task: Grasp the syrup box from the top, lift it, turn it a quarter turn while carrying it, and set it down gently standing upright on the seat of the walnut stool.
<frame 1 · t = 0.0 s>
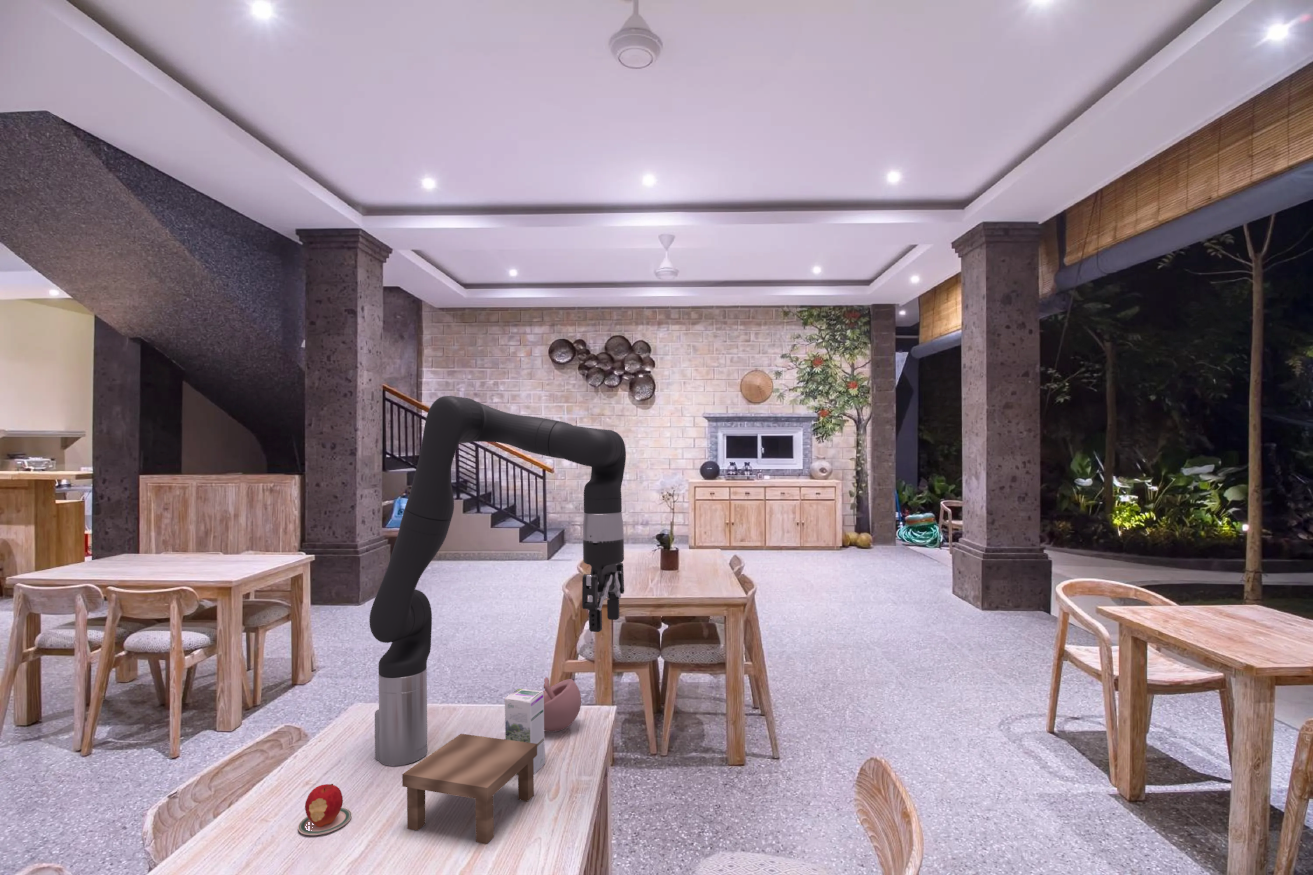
hand: (604, 625, 119), 29 cm above the table, tool pointing down, fingers open, 8 cm apart
mortar and pestle: (554, 730, 143), on the table
walnut stool: (473, 811, 110), on the table
apple: (325, 824, 108), on the table
syrup box: (525, 769, 125), on the table
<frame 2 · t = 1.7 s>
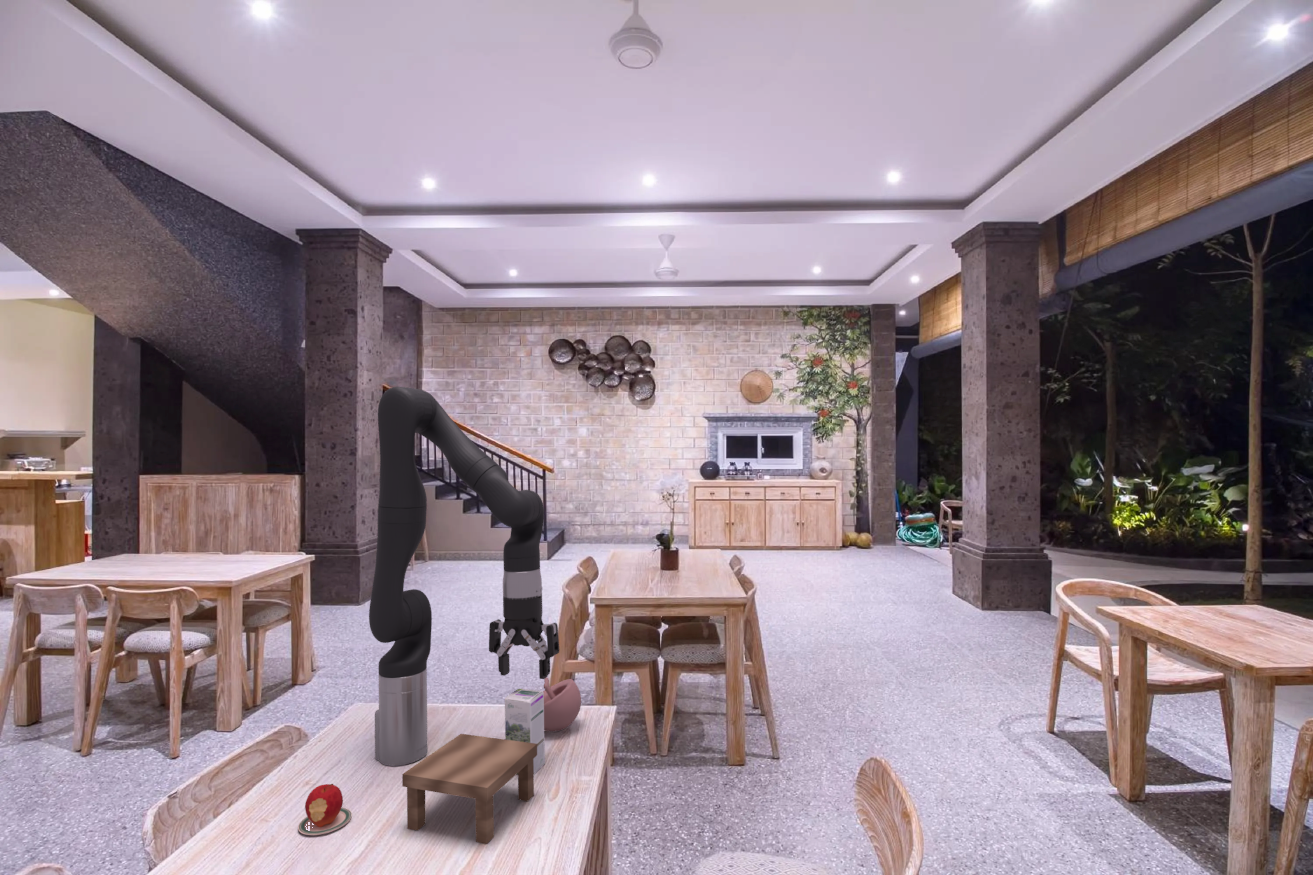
hand: (524, 675, 126), 18 cm above the table, tool pointing down, fingers open, 8 cm apart
nothing on the table moved.
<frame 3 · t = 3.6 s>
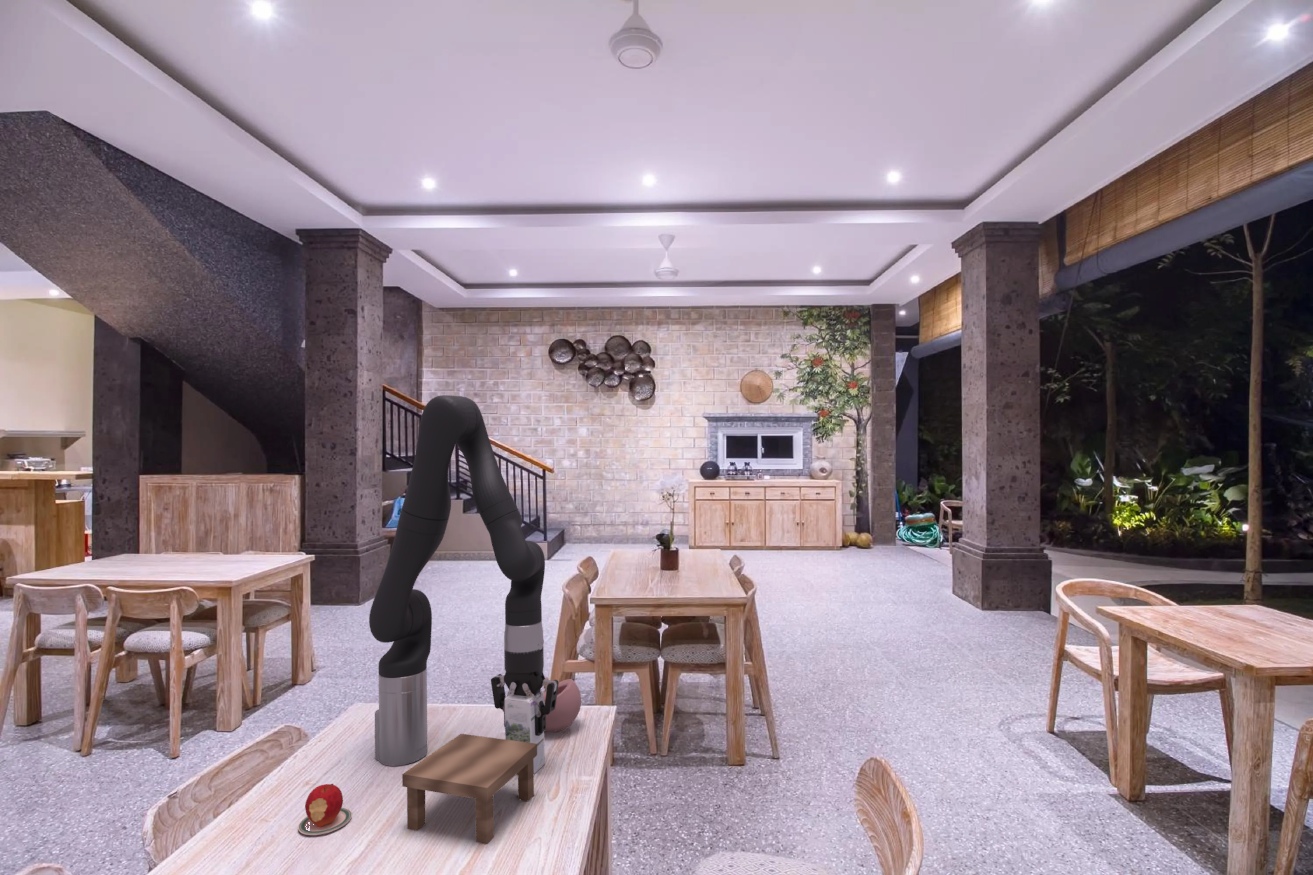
hand: (525, 731, 125), 7 cm above the table, tool pointing down, fingers closed on syrup box, 5 cm apart
syrup box: (525, 769, 125), on the table, touching gripper
everything else where it was.
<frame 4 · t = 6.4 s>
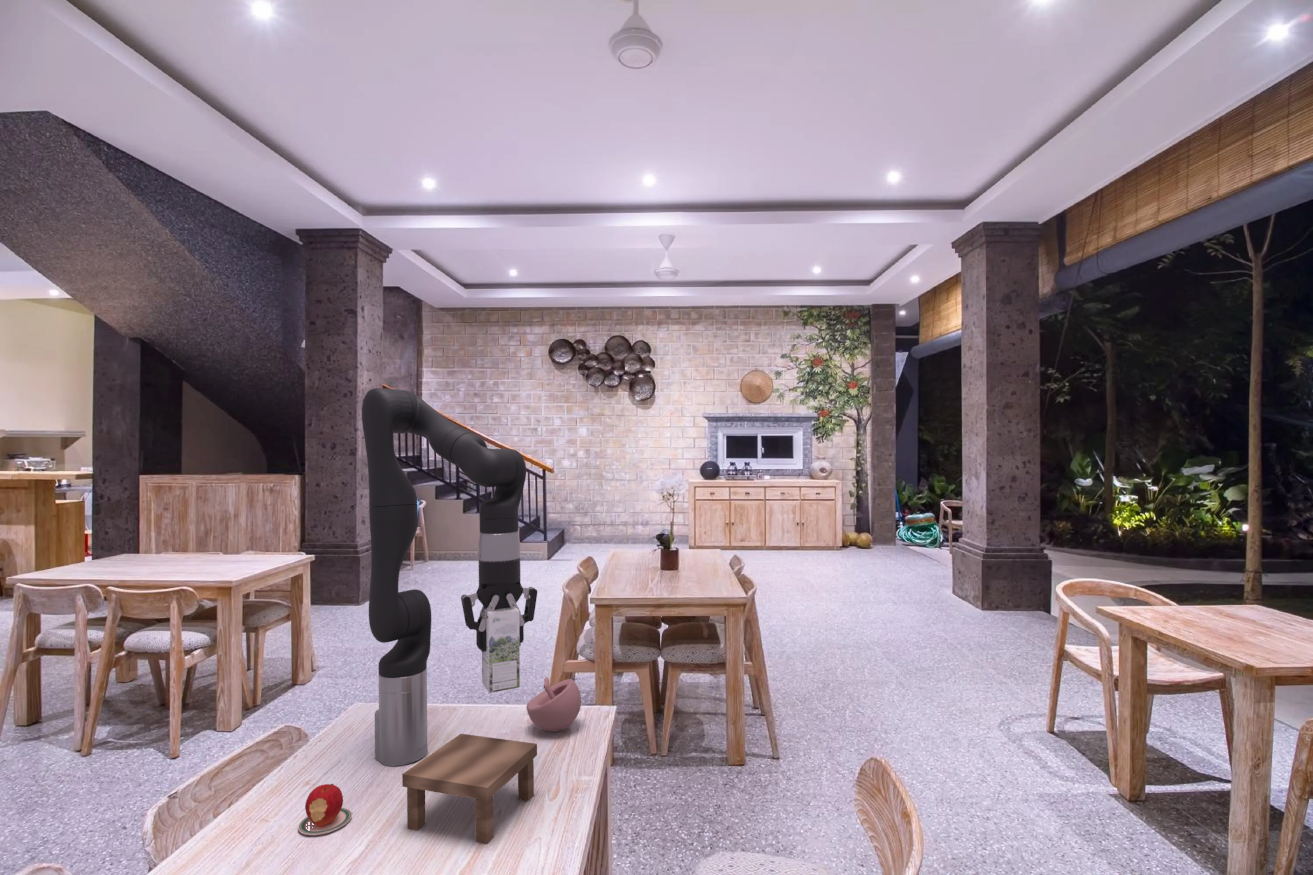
hand: (500, 647, 119), 25 cm above the table, tool pointing down, fingers closed on syrup box, 5 cm apart
syrup box: (501, 687, 119), point 18 cm above the table, touching gripper
everything else where it was.
when the fingers open (18 cm above the table, at t = 9.2 s): syrup box drops 2 cm, resting on walnut stool.
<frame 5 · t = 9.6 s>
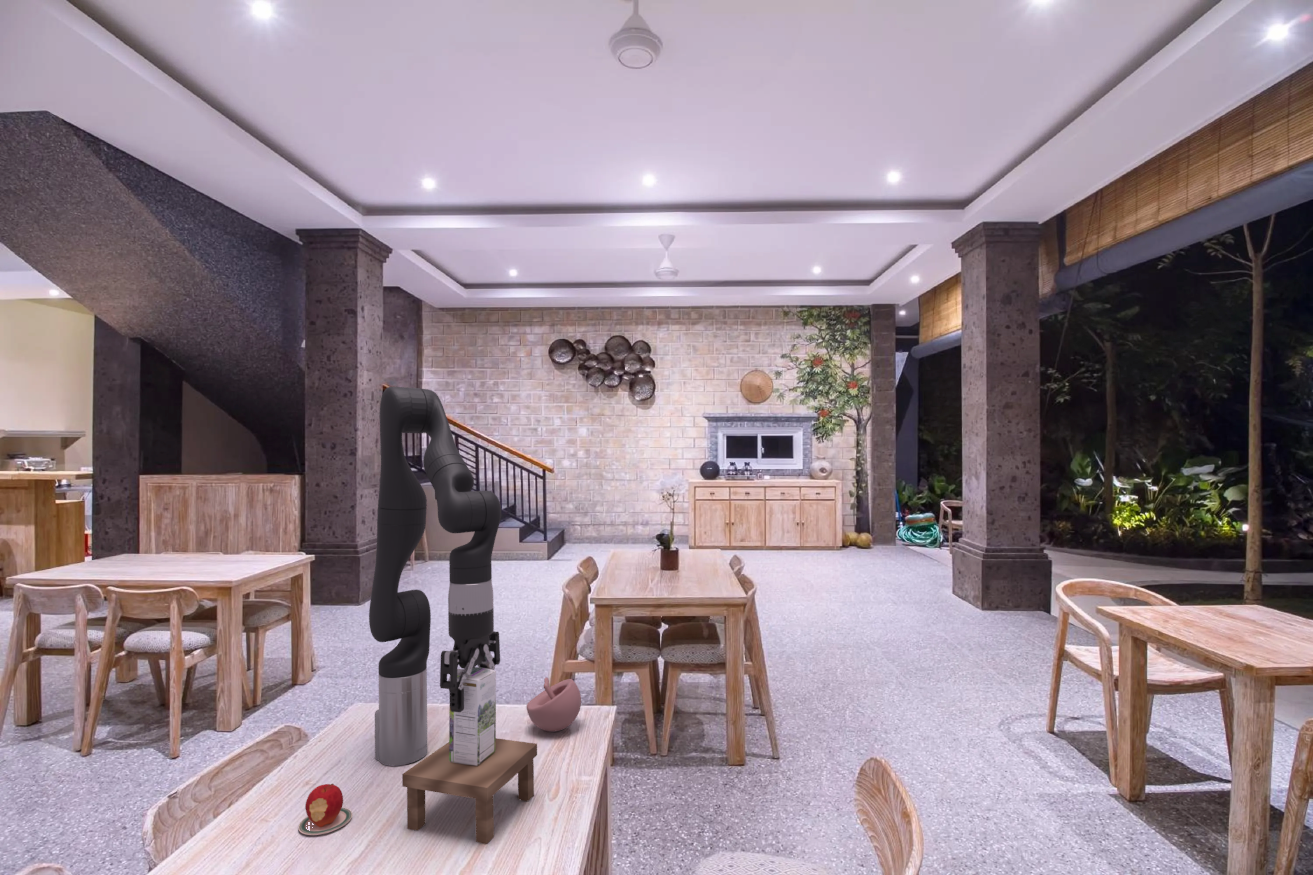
hand: (472, 701, 111), 19 cm above the table, tool pointing down, fingers open, 8 cm apart
syrup box: (473, 758, 111), point 9 cm above the table, touching walnut stool
everything else where it was.
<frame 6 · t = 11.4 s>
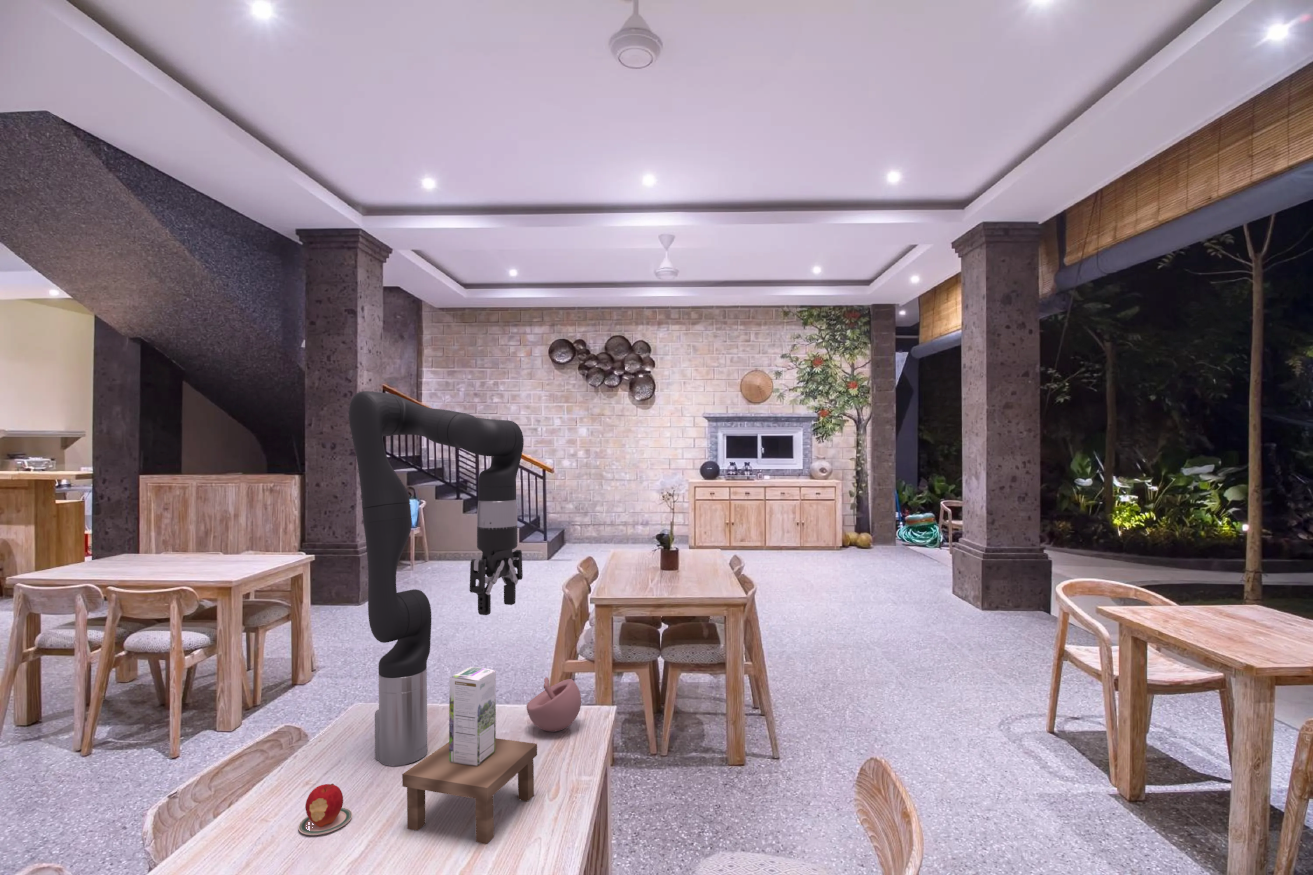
hand: (497, 609, 123), 32 cm above the table, tool pointing down, fingers open, 8 cm apart
nothing on the table moved.
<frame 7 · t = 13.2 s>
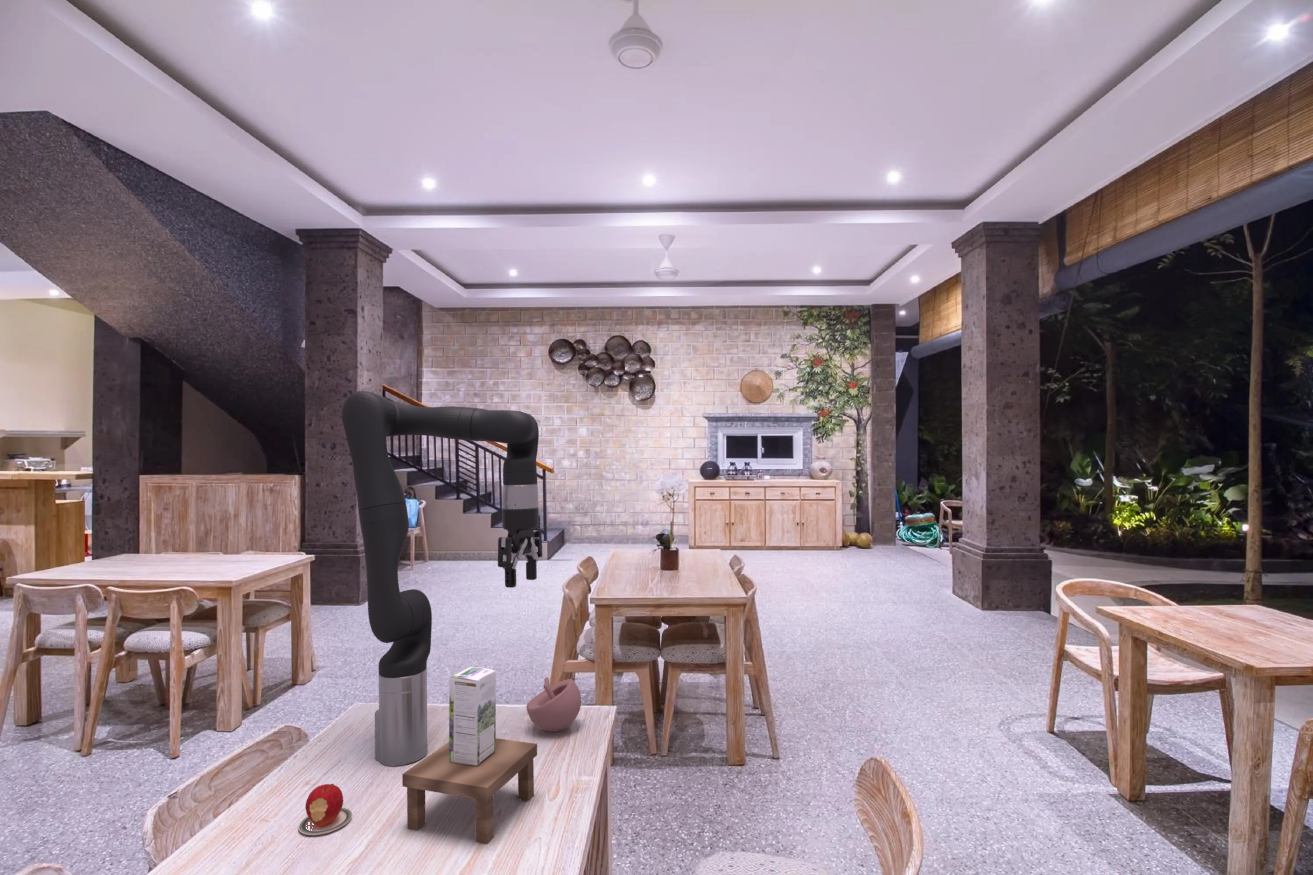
hand: (521, 583, 135), 34 cm above the table, tool pointing down, fingers open, 8 cm apart
nothing on the table moved.
at the end: syrup box inside the target area on the walnut stool (0.3 cm from its centre), point 8.8 cm above the walnut stool's base; syrup box tilted 0°; the gripper is holding nothing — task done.
